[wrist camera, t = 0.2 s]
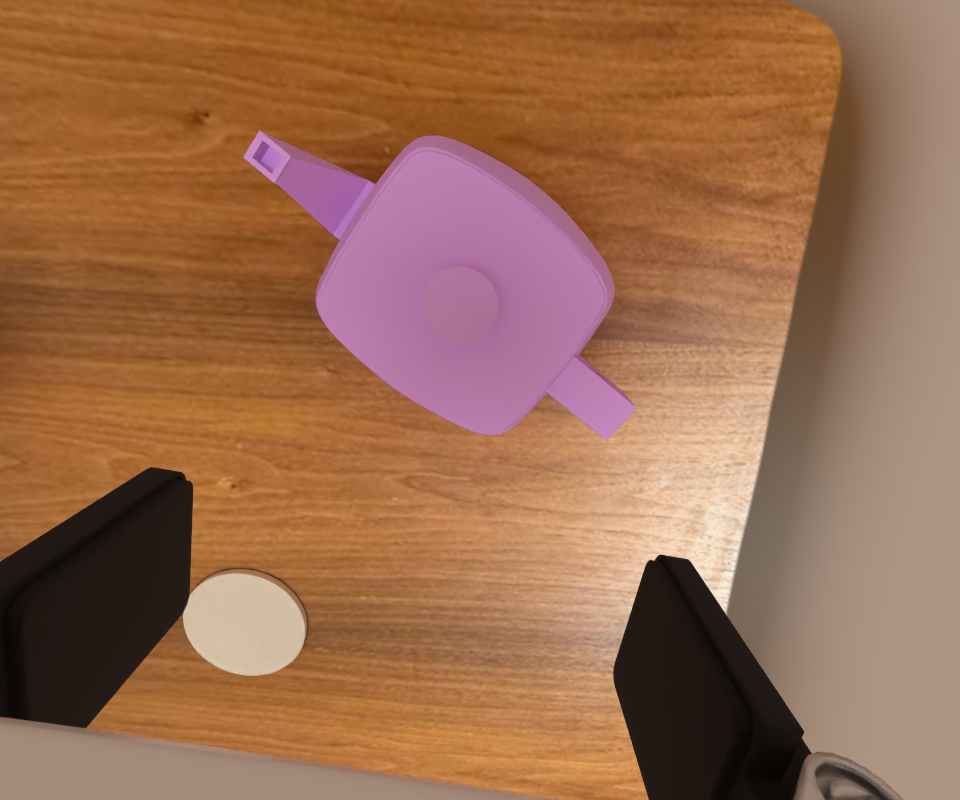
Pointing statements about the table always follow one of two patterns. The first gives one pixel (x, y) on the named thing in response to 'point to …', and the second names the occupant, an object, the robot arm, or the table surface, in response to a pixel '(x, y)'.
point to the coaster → (245, 622)
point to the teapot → (457, 282)
